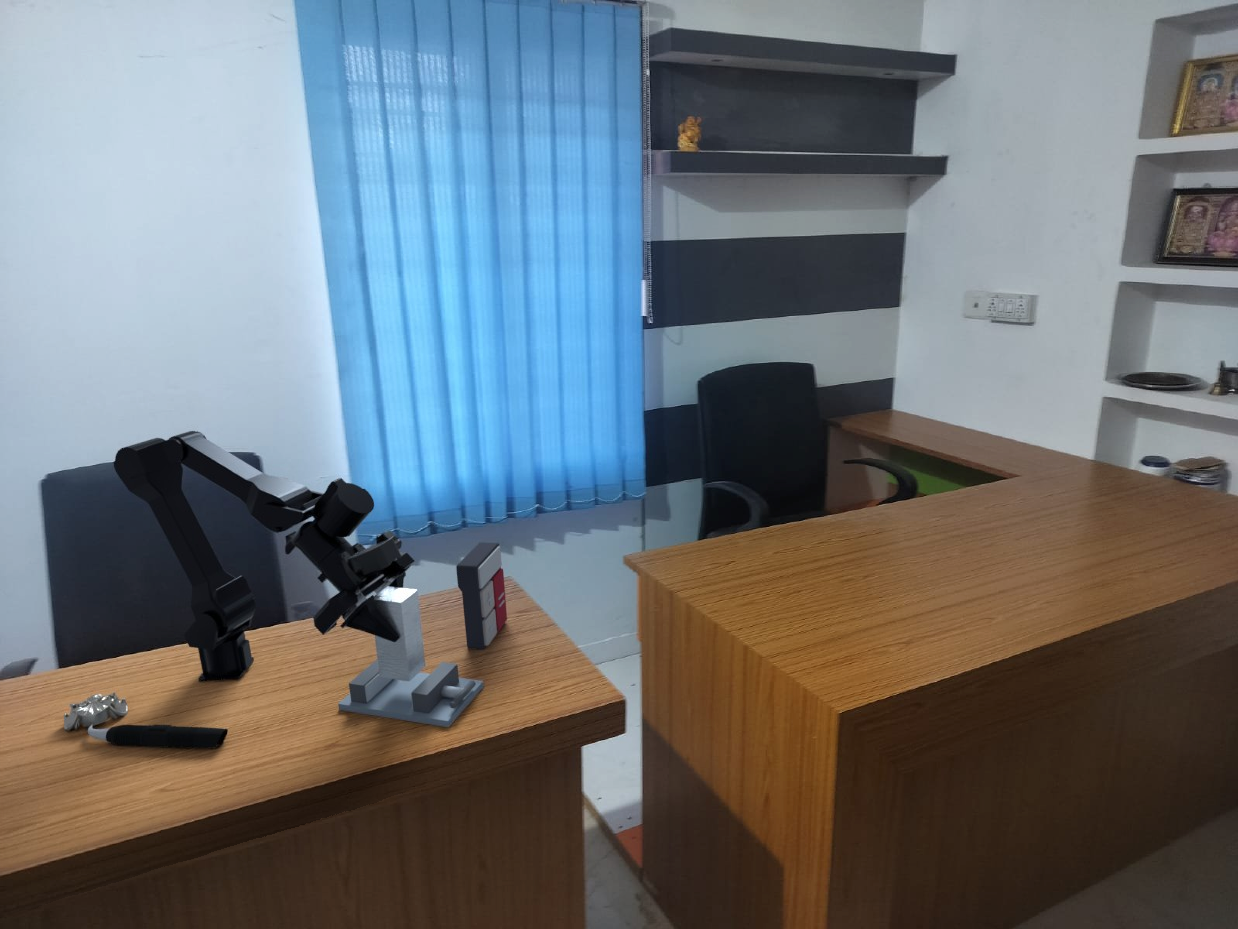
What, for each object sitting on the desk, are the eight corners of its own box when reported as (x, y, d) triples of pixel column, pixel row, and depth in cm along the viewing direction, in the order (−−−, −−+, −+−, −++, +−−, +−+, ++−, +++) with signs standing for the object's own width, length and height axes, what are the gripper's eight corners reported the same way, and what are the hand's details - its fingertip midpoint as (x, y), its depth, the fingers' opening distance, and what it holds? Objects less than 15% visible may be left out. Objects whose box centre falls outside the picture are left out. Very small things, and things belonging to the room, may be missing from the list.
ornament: (128, 701, 126) (123, 679, 125) (128, 722, 120) (123, 700, 119) (66, 717, 122) (61, 695, 121) (63, 740, 117) (58, 717, 116)
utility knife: (74, 749, 114) (70, 730, 114) (95, 732, 118) (91, 714, 117) (221, 754, 112) (217, 734, 111) (237, 736, 116) (234, 718, 115)
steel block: (409, 681, 120) (401, 602, 116) (379, 677, 121) (370, 599, 118) (425, 666, 124) (417, 589, 121) (396, 662, 125) (387, 586, 122)
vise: (338, 709, 121) (335, 685, 120) (381, 672, 131) (378, 649, 130) (449, 727, 116) (446, 702, 115) (484, 687, 126) (482, 663, 125)
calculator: (488, 651, 137) (480, 567, 133) (463, 649, 138) (455, 565, 134) (509, 621, 147) (503, 542, 143) (486, 619, 148) (479, 541, 144)
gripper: (321, 545, 109) (402, 630, 109) (397, 501, 126) (468, 575, 126) (279, 593, 113) (357, 676, 113) (359, 545, 130) (427, 616, 130)
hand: (406, 632), depth 120 cm, fingers closed on steel block, 4 cm apart
